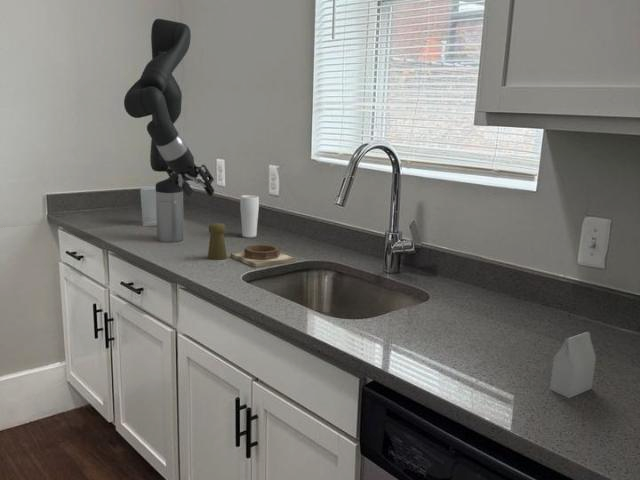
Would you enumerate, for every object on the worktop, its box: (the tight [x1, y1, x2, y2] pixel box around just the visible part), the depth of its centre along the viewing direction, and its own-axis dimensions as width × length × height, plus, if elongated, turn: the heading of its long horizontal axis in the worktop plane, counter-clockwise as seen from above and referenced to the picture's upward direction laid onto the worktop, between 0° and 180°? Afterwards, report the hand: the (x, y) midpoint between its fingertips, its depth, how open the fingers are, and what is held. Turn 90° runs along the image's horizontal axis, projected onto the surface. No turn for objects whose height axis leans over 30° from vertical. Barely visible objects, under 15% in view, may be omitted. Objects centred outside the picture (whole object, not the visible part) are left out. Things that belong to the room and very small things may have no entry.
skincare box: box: [139, 186, 157, 227], centre depth 228 cm, size 8×6×15 cm
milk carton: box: [549, 331, 597, 399], centre depth 101 cm, size 4×7×10 cm, turn 125°
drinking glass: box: [239, 194, 260, 239], centre depth 213 cm, size 7×7×15 cm
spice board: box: [230, 244, 295, 269], centre depth 182 cm, size 15×14×4 cm
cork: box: [207, 222, 228, 261], centre depth 182 cm, size 6×6×11 cm
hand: (201, 194), depth 175 cm, fingers open, 8 cm apart
